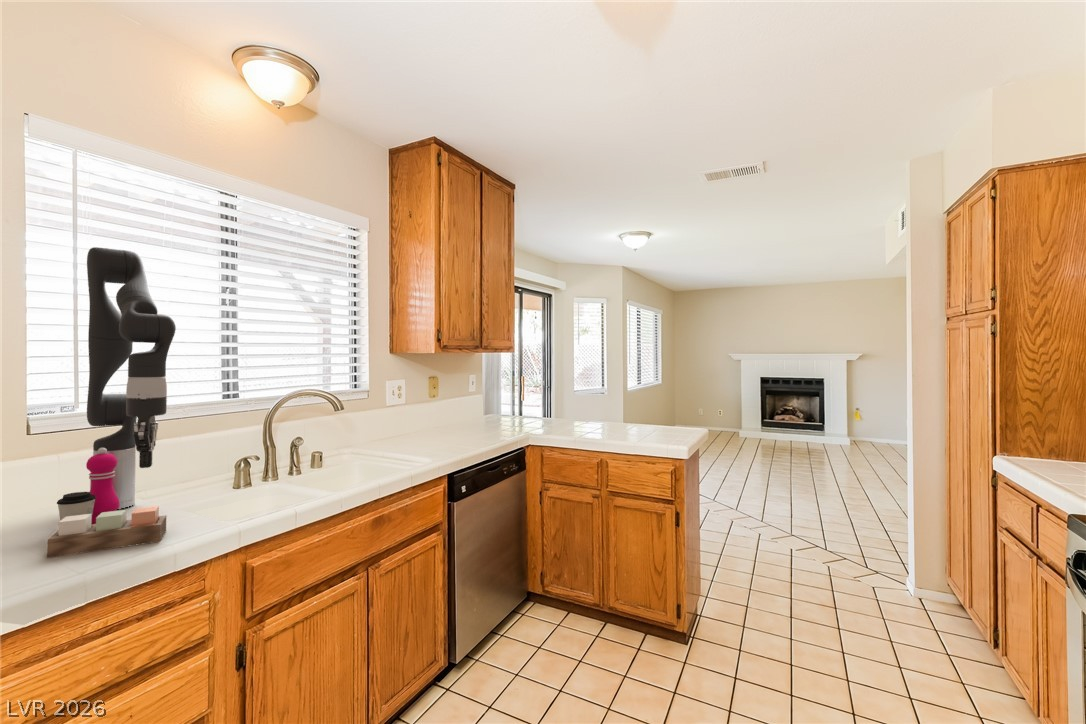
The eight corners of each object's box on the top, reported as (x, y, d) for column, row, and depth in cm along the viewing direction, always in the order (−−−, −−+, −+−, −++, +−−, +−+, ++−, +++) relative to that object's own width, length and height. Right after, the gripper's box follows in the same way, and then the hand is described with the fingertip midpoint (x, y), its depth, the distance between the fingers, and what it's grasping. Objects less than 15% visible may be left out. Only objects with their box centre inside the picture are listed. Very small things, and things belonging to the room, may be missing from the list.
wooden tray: (46, 557, 103) (47, 538, 103) (60, 545, 110) (60, 527, 110) (160, 541, 113) (160, 523, 113) (166, 531, 120) (166, 514, 120)
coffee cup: (103, 531, 119) (103, 491, 119) (71, 541, 112) (72, 499, 112) (80, 529, 120) (81, 489, 120) (47, 539, 113) (48, 497, 113)
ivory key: (58, 542, 105) (58, 522, 105) (65, 536, 109) (65, 516, 109) (85, 538, 107) (85, 519, 107) (91, 532, 111) (91, 513, 111)
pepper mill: (96, 529, 120) (97, 450, 120) (74, 526, 122) (75, 449, 122) (126, 520, 127) (127, 446, 128) (105, 518, 129) (106, 444, 129)
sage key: (95, 537, 108) (96, 517, 108) (101, 531, 112) (101, 512, 112) (121, 534, 110) (121, 514, 110) (125, 528, 114) (126, 509, 114)
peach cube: (131, 532, 111) (131, 513, 111) (135, 527, 115) (135, 508, 115) (155, 529, 114) (155, 510, 114) (158, 524, 117) (158, 506, 117)
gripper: (133, 394, 118) (132, 463, 118) (119, 397, 107) (118, 474, 107) (170, 394, 122) (169, 461, 122) (161, 396, 111) (160, 470, 111)
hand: (145, 467), depth 114 cm, fingers closed
